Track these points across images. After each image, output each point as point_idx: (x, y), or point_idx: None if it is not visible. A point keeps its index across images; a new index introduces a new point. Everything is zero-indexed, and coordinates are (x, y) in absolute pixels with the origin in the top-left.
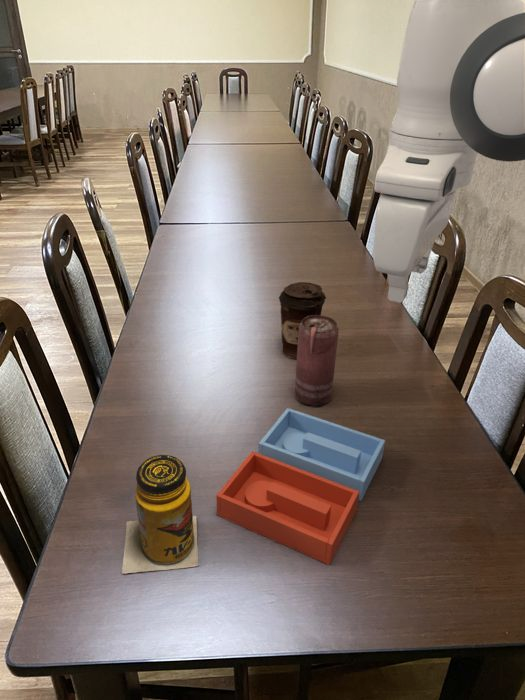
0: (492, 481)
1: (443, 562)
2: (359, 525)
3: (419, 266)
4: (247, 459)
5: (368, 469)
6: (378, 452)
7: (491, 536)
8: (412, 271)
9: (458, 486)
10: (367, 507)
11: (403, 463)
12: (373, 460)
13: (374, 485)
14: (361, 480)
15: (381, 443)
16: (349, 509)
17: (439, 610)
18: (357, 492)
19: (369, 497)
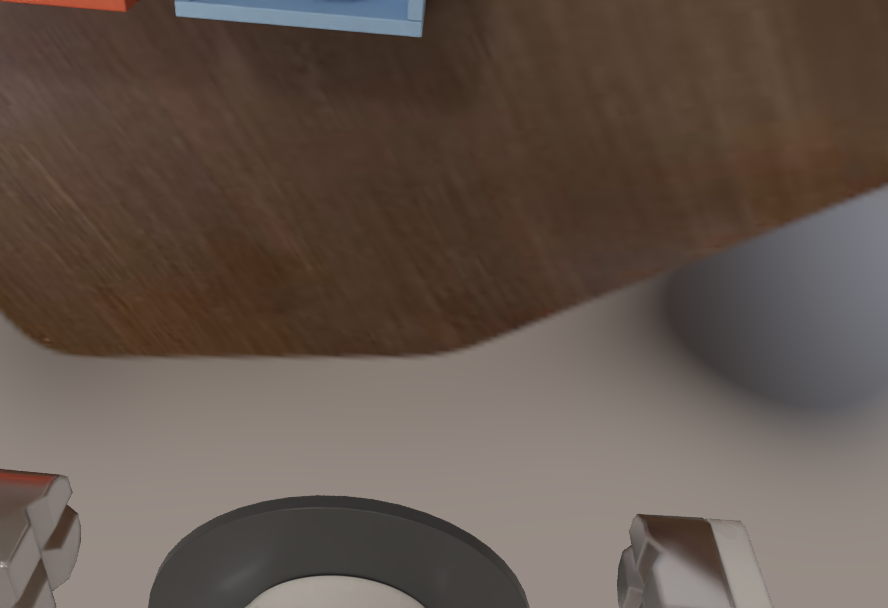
0: (466, 305)
1: (131, 225)
2: None
3: (638, 597)
4: None
5: (241, 15)
6: (343, 29)
7: (272, 309)
8: (633, 519)
9: (406, 233)
10: None
11: (434, 80)
12: (292, 22)
13: None
14: (175, 6)
15: (396, 28)
16: (33, 2)
17: (3, 231)
18: (115, 8)
19: None
